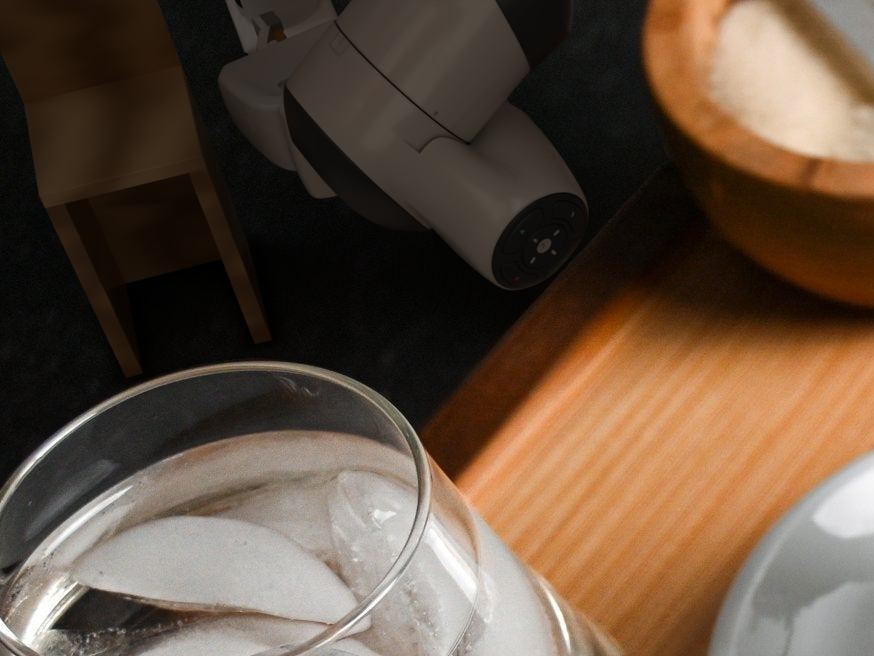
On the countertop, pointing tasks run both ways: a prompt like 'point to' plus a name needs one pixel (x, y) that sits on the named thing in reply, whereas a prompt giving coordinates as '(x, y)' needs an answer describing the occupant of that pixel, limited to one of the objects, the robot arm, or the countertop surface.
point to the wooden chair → (122, 155)
